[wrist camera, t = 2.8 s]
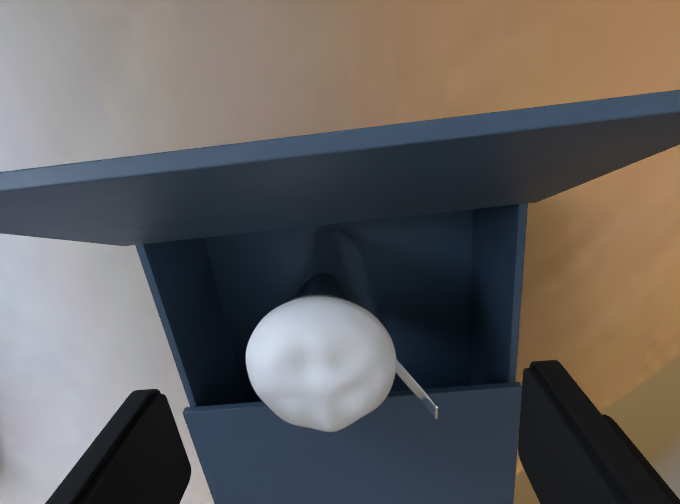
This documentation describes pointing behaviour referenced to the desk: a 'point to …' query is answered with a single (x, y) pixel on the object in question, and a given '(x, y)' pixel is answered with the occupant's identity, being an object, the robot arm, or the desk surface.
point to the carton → (411, 351)
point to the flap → (339, 174)
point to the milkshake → (326, 341)
